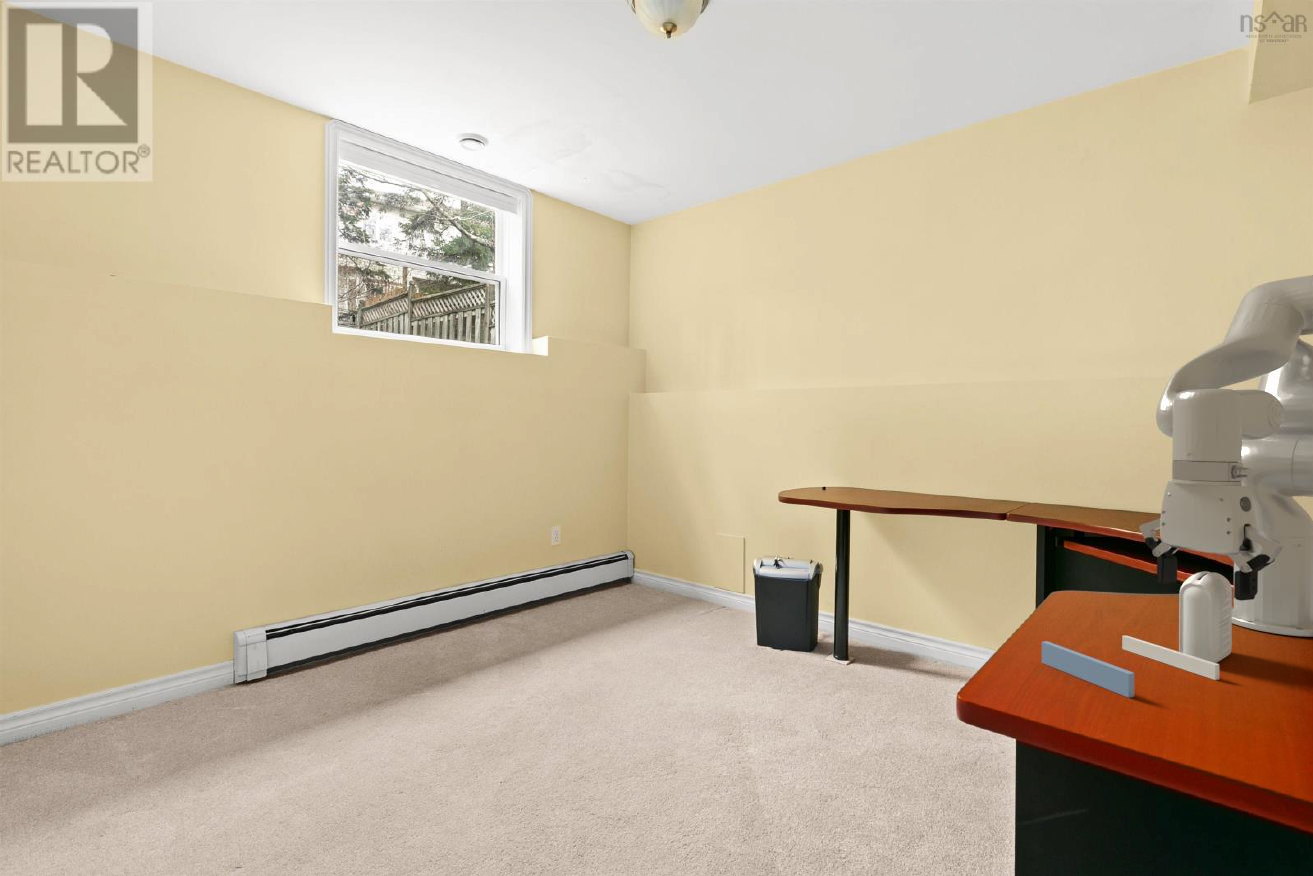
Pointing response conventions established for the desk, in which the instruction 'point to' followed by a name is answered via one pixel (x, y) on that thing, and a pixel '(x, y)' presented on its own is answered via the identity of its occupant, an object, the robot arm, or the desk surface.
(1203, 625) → the photo printer
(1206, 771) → the desk surface
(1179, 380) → the robot arm
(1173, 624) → the desk surface
